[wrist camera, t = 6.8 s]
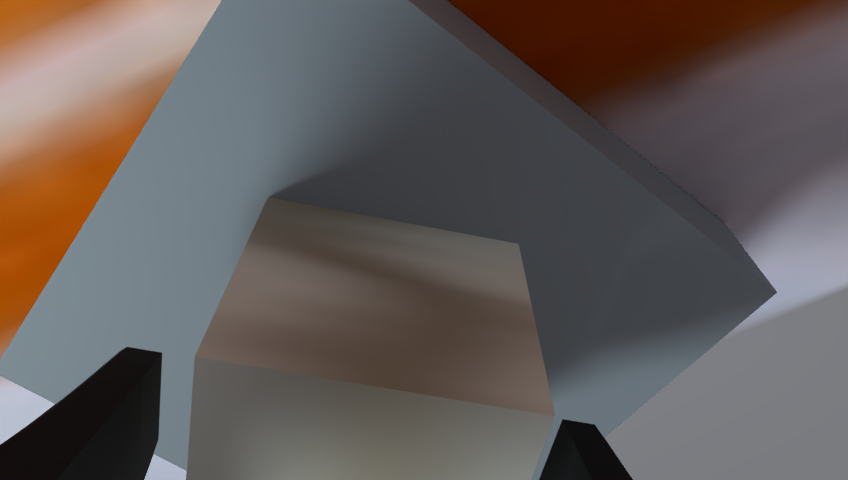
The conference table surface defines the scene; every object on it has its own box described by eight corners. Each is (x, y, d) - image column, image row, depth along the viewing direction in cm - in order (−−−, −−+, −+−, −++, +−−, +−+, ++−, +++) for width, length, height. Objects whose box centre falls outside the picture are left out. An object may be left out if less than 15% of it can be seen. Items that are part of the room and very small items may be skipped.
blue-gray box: (53, 297, 19) (-8, 371, 16) (310, -111, 14) (282, -99, 12) (423, 502, 22) (421, 590, 20) (725, 225, 18) (777, 292, 15)
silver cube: (245, 393, 17) (178, 593, 12) (267, 197, 14) (194, 355, 10) (462, 429, 17) (472, 634, 13) (518, 244, 15) (555, 416, 10)
